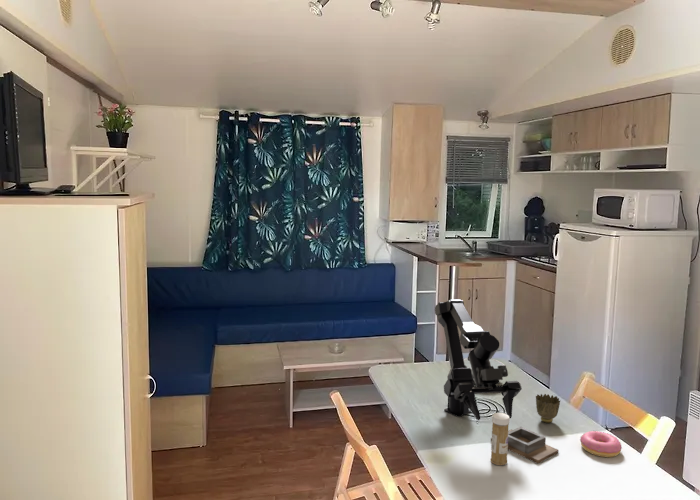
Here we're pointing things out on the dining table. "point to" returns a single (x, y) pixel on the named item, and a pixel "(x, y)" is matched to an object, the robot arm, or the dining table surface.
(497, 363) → the cereal bowl
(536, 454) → the socket board
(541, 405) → the cup
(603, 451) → the doughnut
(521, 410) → the dining table surface
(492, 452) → the sprinkles bottle
